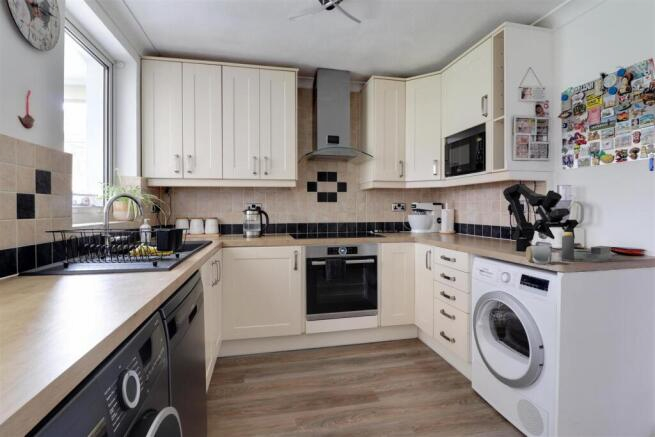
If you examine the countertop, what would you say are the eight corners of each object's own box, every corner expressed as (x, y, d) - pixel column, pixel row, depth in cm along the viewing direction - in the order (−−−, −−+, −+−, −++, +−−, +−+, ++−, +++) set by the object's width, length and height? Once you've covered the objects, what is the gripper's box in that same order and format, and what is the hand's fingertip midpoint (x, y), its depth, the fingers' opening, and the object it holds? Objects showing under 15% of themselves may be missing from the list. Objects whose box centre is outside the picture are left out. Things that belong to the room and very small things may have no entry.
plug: (562, 261, 140) (562, 232, 140) (560, 259, 144) (560, 231, 144) (575, 262, 138) (576, 232, 137) (573, 260, 142) (573, 232, 142)
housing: (559, 256, 153) (559, 244, 153) (571, 254, 159) (571, 243, 159) (599, 261, 139) (599, 248, 139) (611, 259, 145) (611, 246, 145)
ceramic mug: (524, 260, 142) (525, 243, 142) (545, 261, 140) (545, 244, 140) (532, 265, 132) (533, 247, 132) (555, 266, 130) (555, 247, 129)
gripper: (536, 202, 148) (552, 226, 137) (575, 202, 148) (595, 226, 137) (525, 218, 156) (540, 242, 146) (563, 218, 156) (580, 242, 145)
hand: (563, 238), depth 143 cm, fingers open, 9 cm apart
